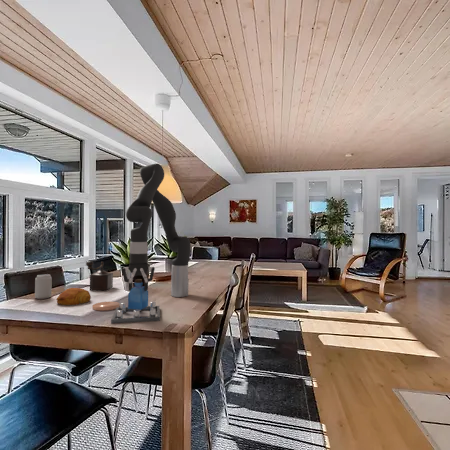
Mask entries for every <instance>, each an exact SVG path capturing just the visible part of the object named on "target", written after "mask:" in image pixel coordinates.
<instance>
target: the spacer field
mask: <svg viewBox="0 0 450 450" xmlns="http://www.w3.org/2000/svg"><path fill="white" fill-rule="evenodd" d="M119 303H120V302H119ZM130 311H131V312H132V314H133V317H124V314H125V313H126V312H130ZM142 311H149V316H145V317H144V316H143V317H142V316H141V317H140V312H142ZM156 313H157V316H156ZM110 319H111V320H110V323H111V324H121V323H122V324H123V323H125V324H126V323H137V322H138V323H142V322H143V323H145V322H146V323H147V322H160V321H161V311H160V305H156V301H150V302H149V305H148V306H147V307H145V308H143V309H142V310H140V309H128V306H127V303H126V302H121V303H120V307H117V308H116V309H114V313H113V315H112V317H111V318H110Z"/></svg>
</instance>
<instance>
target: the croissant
mask: <svg viewBox="0 0 450 450" xmlns="http://www.w3.org/2000/svg"><path fill="white" fill-rule="evenodd" d="M91 296H92V295H91V293H90V290H86V289H84V288H82V287H69V288H67V289H66V290H65V289H64V290H63V292H61V293H60V294H59V295H58V296H57V298H56V302H57V304H58V305H61V306H78V305H82V304H86V303H88V302H90V301H91V299H92V297H91Z"/></svg>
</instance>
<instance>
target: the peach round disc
mask: <svg viewBox="0 0 450 450" xmlns="http://www.w3.org/2000/svg"><path fill="white" fill-rule="evenodd" d="M117 307H120V302H118V301H101V302H95V303H94V304H92V310H94V311H99V312H101V311H102V312H105V311H113V310H114V311H115V310H116V308H117Z"/></svg>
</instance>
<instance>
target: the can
mask: <svg viewBox="0 0 450 450" xmlns="http://www.w3.org/2000/svg"><path fill="white" fill-rule="evenodd" d="M52 281H53V280H52V276H51V274H48V273H47V274H37V275H36V277H35V280H34V298H35V299H37V300H43V299H44V300H45V299H49V298H51V296H52V288H53V287H52V283H53V282H52Z"/></svg>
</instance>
